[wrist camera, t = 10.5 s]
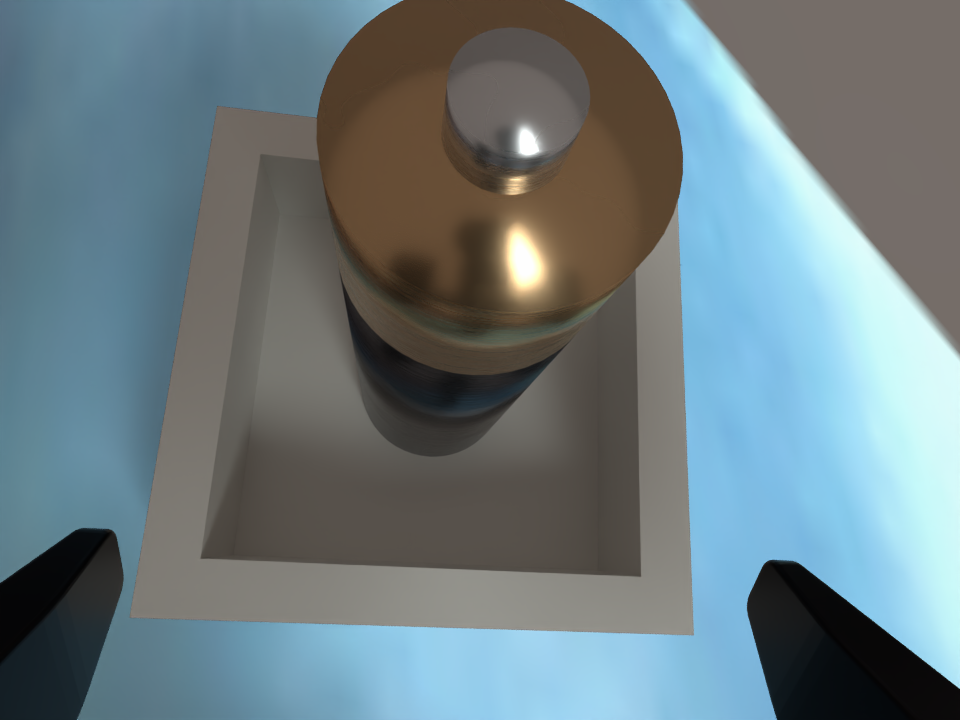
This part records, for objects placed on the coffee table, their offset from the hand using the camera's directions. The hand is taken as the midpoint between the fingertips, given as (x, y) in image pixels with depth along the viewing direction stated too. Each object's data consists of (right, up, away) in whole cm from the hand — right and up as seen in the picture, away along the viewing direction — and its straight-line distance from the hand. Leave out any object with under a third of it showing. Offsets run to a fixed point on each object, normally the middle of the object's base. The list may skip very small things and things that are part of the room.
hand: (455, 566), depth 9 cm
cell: (-1, +2, +10) cm, 10 cm away
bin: (-1, +2, +10) cm, 11 cm away
